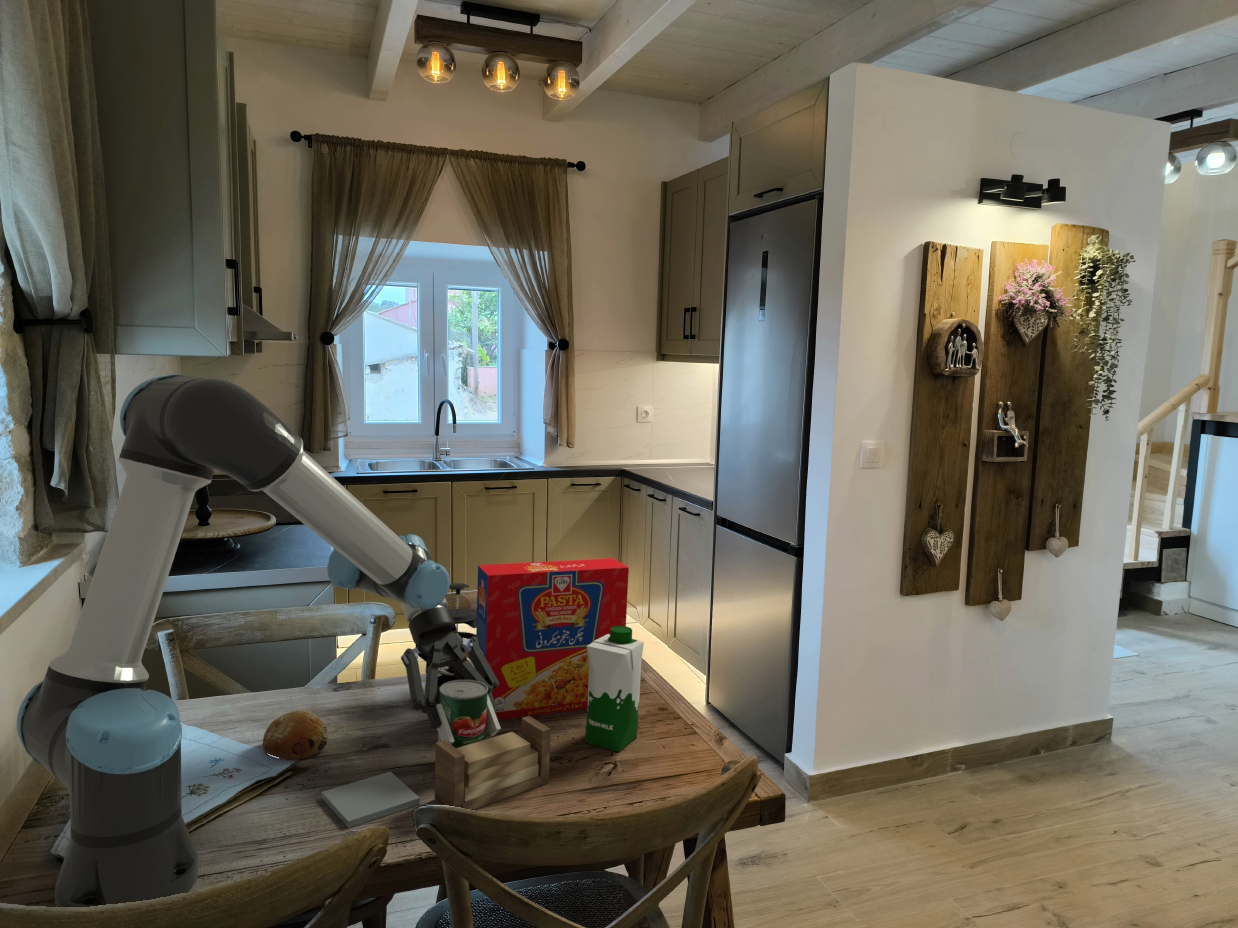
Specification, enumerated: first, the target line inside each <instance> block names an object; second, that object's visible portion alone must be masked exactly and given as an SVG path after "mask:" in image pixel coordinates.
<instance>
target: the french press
mask: <svg viewBox="0 0 1238 928" xmlns="http://www.w3.org/2000/svg"><path fill="white" fill-rule="evenodd" d="M469 587H470V586H469V585H468V584H467V583H461V582H454V583H450V586H449V590H454V591H455V595H456V608H448V609H449V610H450V611H451V614H452V617H453V619H454V622H455V624H456V630H457V633H458V634H459V636H460V637H461V638H462V639H471V638H472V637H473V636H476V633H473V632H469V631H468V632H467V631H459V624H465V625H468V626H469V627H470V628H473V629H476V624H477V610H473V609H469V608H459V603H460V600H459V598H460V595H461V592H462V591H461V590H466V589H469ZM461 651H462V652H463V653H464V654H465V653H466V652H465V649H464V648H463V647H462V648H461ZM467 660H468V661H469V662H470V664H471V665H472V666H473V667H474V665H473V664H472V662H471V660H470V659H467ZM457 661H458V659H457ZM474 668H475V667H474ZM455 680H465V679H464V677H463V676H462V675H461V674H460V673H459V672H458V671H457V670H455V669H453V667H452V666H451V665H450V666H442V667H440V668H438V680H437V695H436V705H437V704H439V695H440V692H439V688H440V687H441V686H442V685H443V684H445V683H447V682H450V681H455Z"/></svg>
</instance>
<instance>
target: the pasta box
mask: <svg viewBox="0 0 1238 928" xmlns="http://www.w3.org/2000/svg"><path fill="white" fill-rule="evenodd" d="M629 569H630V567H629V566H627V565H626V564H624V563H622V562H620V561H618V560H617V559H615V558H611V557H610V558H592V559H577V560H576V559H574V560H571V559H570V560H552V561H551V560H550V561H534V562H518V563H517V562H516V563H497V564H496V563H495V564H479V565H477V587H476V589H477V594H476V611H477V624H476V628H475V629H476V630H475V631H476V632H475V635H476V637H477V638H478V643H479V648H480V650H481V651H482V653H483V655H484V657H485V658H486V660H487V662H488V664H489V665H490V667H491V669H492V671H493V672H494V674H495V676H496V678H497V680H498V681H499V685H498V686H497V688H496V689H495V690H494V691H493V692H492V695H493V698H494V701H495V703H496V706H497V710H496V712H495V714H496V717H497V720H498V721H502V720H511V719H518V718H519V719H520V718H524V717H527V716H530V717H534V716H542V715H548V714H549V715H550V714H559V713H564V712H573V711H582V710H587V704H588V679H589V659H588V652H587V645H589V644H591V643H593V641H595V640H597V639H599V638H601V637H603V636H605V635H607V634H610V628H611V627H614V626H626V627H627V614H628V613H627V612H628V593H629V592H628V591H629V571H630V570H629Z"/></svg>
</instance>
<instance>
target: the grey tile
mask: <svg viewBox="0 0 1238 928" xmlns="http://www.w3.org/2000/svg"><path fill="white" fill-rule="evenodd" d="M321 799H322V801H324V803H325V804H326V805H327V806H328V807H329V808H330V810H332V812H334V814H335V815H336V816H337V817H338V819H340V820H341V822H343V824H344V825H345V826H346V827H347V828H348V829H349V828H352V827H355V826H358V825H362V824H364V823H368V822H370V821H373V820H376V819H380V818H383V817H386V816H388V815H389V816H390V815H392V814H394V813H397V812H401V811H404V810H406V809H409V808H413V807H416V806H418V805H417V804H419V805H420V803H421V802H420V800H421V799H420V797H419V796H418V795H417V794H416V793H415V792H414V791H413V790H412V789H410V788H409V787H408V785H406V784H405V783H404V782H403V781H402V780H401V779H400V778H398V776H396V775H395V774H394V773H393V772H392V771H387V772H384V773H381V774H378V775H374V776H371V777H368V778H365V779H361V780H358V781H353V782H351V783H348V784H344V785H341V786H338V787H334V788H331V789H328V790H324V791H321Z"/></svg>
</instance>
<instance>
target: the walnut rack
mask: <svg viewBox="0 0 1238 928" xmlns="http://www.w3.org/2000/svg"><path fill="white" fill-rule="evenodd" d="M520 725H521V727H520V728H521V729H520V730H521V731H520V737H521V738H522V739H524V740H525V741H527V742H528V743H530V747H531V748H532V749H534V750H535V751H537V752H538V764H539V768H538V777H535V778H532V779H529V780H526V781H524V782H521V783H518V784H515V785H512V786H509V787H506V788H503V789H500V790H498V791H495V792H492V793H489V794H486V795H483V796H480V797H477V798H475V799H472V800H469V801H466V802H464V764H465V755H464V754H463V753H461V752H460V751H459V750H457V749H456V748H455V747H453V746H452V745H451V744H449V743H448V742H447V741H445V740H443V741H440V742H438V741H437V742H435V762H434V763H435V764H434V765H435V766H434V769H435V770H434V800H435V799H436V800H437V801H436V800H435V801H436V802H437V803H438V804H440V806H442V805H449V806H455V807H461V808H465V809H473V810H477V809H478V808H481V807H484V806H488V805H489V803H490V804H494V803H495V802H498V801H502V800H504V799H507V798H509V797H513V796H515V795H518V794H521V793H524V792H526V791H528V790H532V789H535V788H537V787H538V788H539V787H541V786H543V785H546V784H548V783H549V784H550V781H549V780H550V759H551V757H550V755H551V732H552V731H551V730H552V729H551V728H550V727H548V726H547V725H545V724H544V723H541V722H540V721H538V720H537V719H535V718H534V717H533V716H527V717H521V724H520ZM540 785H541V786H540Z"/></svg>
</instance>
